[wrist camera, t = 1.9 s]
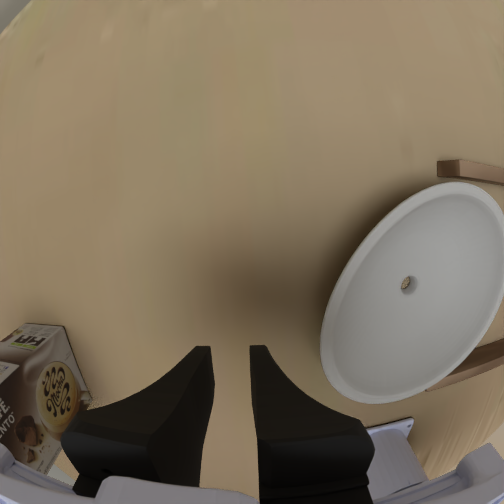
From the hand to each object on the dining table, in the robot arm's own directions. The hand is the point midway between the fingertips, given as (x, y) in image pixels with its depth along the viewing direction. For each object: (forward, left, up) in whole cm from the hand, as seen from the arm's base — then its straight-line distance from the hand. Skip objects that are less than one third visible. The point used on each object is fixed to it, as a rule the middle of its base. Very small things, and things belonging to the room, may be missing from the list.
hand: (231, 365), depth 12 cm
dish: (0, -13, -10) cm, 16 cm away
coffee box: (-8, +19, -10) cm, 23 cm away
